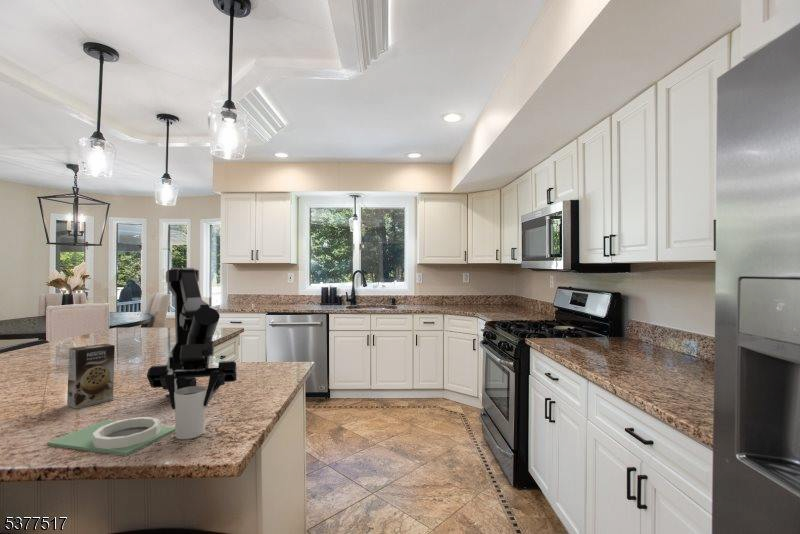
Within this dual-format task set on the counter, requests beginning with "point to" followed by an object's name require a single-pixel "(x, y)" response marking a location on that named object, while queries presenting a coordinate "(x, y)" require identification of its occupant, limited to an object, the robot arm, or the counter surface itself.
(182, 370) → the robot arm
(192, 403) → the white coffee cup
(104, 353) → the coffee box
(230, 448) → the counter surface
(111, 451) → the practice green
